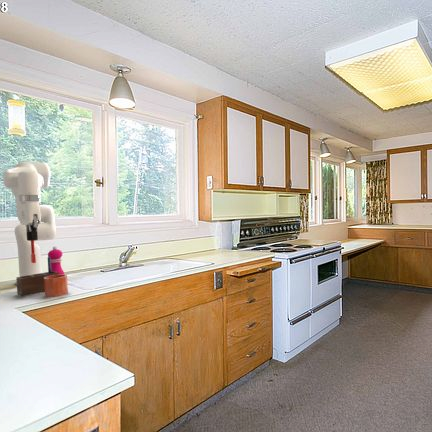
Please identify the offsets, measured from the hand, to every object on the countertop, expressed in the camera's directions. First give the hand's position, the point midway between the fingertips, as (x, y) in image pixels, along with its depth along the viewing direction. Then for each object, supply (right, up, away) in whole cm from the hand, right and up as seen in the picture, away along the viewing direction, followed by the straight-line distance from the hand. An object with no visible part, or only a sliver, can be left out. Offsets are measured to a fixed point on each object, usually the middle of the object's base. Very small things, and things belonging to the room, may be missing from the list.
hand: (32, 240), depth 142 cm
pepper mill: (-4, -25, +20) cm, 32 cm away
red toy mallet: (0, -10, 0) cm, 10 cm away
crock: (+11, -25, 0) cm, 27 cm away
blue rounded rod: (+1, -24, +9) cm, 26 cm away
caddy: (-1, -25, +6) cm, 26 cm away
